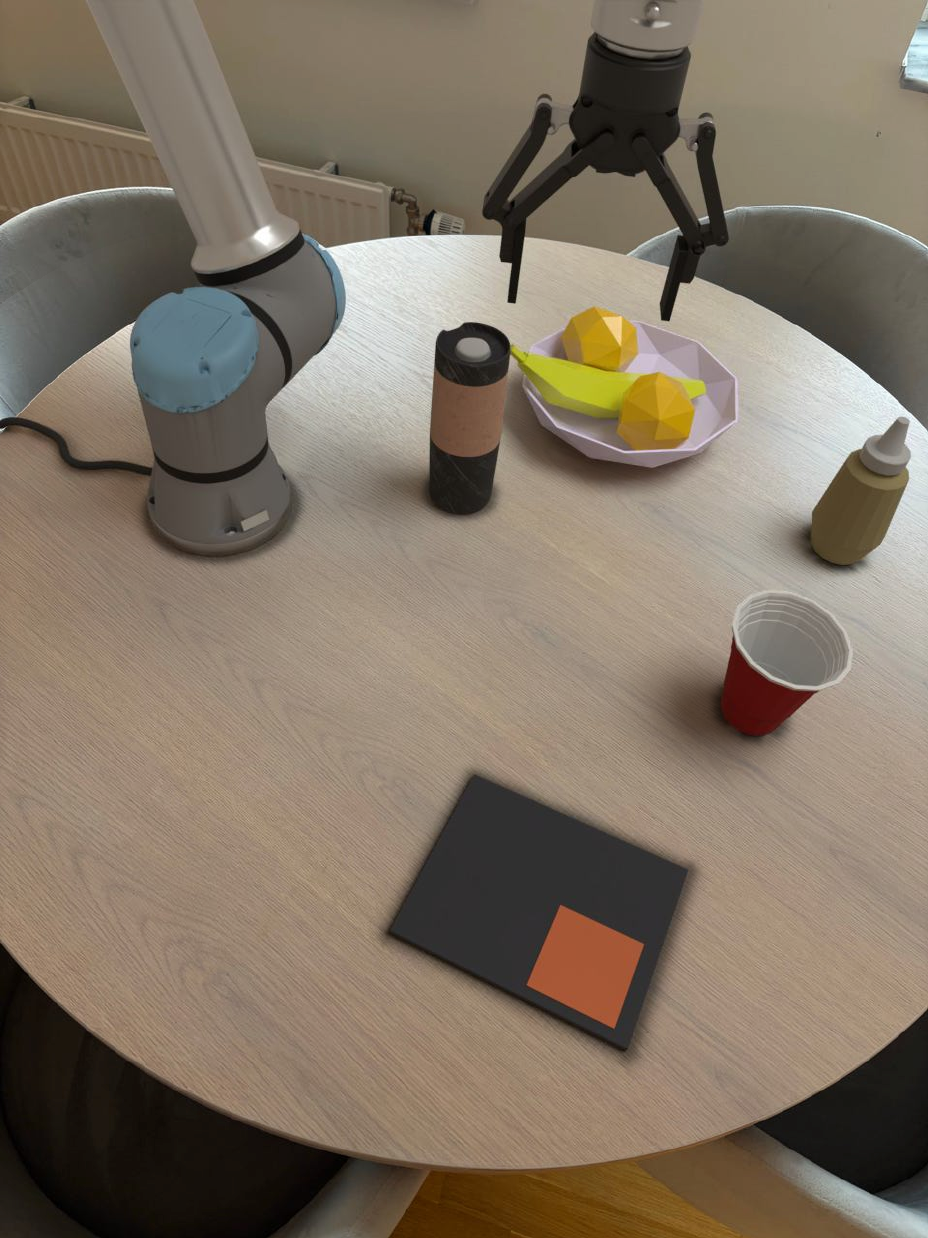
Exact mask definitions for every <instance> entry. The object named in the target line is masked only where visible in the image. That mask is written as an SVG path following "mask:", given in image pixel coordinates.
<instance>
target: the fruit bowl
mask: <svg viewBox="0 0 928 1238" xmlns="http://www.w3.org/2000/svg"><path fill="white" fill-rule="evenodd" d="M510 346H511V352H510V357H512V358H513V359H515V360H516V363H517V365H516V366H517V367H518V368H519V369H520V371H522V373H523V378H522V384H521V387H522V388H523V390H524V393H525V394H526V397H527V399H528V401H529V403H530V404H531V405H530V406H531V407H532V409H533V411H534V414H535V415H536V418H537V419H538V422H539V424H540V425H541V426H542V427H544V428H545V429H547V431H549V432H551V433H553V435H555V436H556V437H558V438H560V439H561V440H562V441H564V442H565V443H567V444H568V445H570V446H572V447H573V448H574V449H576V450H577V451H579V452H580V453H582V454H583V455H585V456H586V457H587V458H589V459H595V460H601V461H608V462H613V463H614V462H615V463H620V464H625V465H626V464H627V465H631V466H638V467H645V468H651V469H653V468H656V467H657V468H658V467H660V466H664V465H666V464H669V463H672V462H676V461H679V460H683V459H686V458H689V457H692V456H696V455H699V454H701V453H702V452H704V450H706V449H707V448H708V447H709V446H711V445H712V444H713V443H714V442H715V441H717V439H719V438H720V437H721V436H722V435H723V434H724V433H726V432H727V431H729V429H730V428H732V427H733V426H734V425H735V424H737V423H738V422H739V385H738V383H739V382H738V379H739V378H737V377H736V376H735V374H733V373H732V372H731V371H730V370H729V369H728V368H727V367H726V366H725V365H724V364H723V363H722V362H721V361H720V360H718V358H716V357H715V356H714V354H712V353H711V352H710V351H709V350H708V348H706V347H705V346H704V345H703V344H702V343H701V342H700V341H698V340H696V339H694V338H693V339H692V338H689V337H687V336H684V335H681V334H678V333H675V332H672V331H669V330H666V329H663V328H660V327H659V326H655V325H652V324H649V323H646V322H643V321H640V320H627V318H625V317H624V316H622V315H620V314H618V313H615V312H613V311H610V310H607V309H605V308H600V307H597V306H592V307H591V306H590V308H587V309H585V310H583V311H582V312H580V313H577V314H576V315H573V316H571V318H570V319H569V322H568V323H567V325H566V326H565V327H563V328H561V329H559V330H557V331H555V332H553V333H551V334H549V335H547V336H546V337H544V338H542V339H540V340H538V341H537V342H535V343H532V344H531V345H530V347H529V351H528V352H527V351H524V352H522V351H521V350H520V349H519V348H518V347H517V346H515V344H513V343H511V344H510Z"/></svg>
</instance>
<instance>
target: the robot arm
mask: <svg viewBox="0 0 928 1238" xmlns="http://www.w3.org/2000/svg"><path fill="white" fill-rule="evenodd" d="M85 2H86V4H87V7H88V9H89V12H90V13H91V15H92V18H93V20H94V22H95V24H96V26H97V29H98V30H99V33H100V35H101V37H102V39H103V42H104V44H105V46H106V48H107V50H108V52H109V55H110V57H111V59H112V61H113V63H114V65H115V67H116V69H117V73H118V74H119V77H120V79H121V81H122V83H123V85H124V88H125V89H126V91H127V94H128V96H129V98H130V100H131V102H132V104H133V107H134V109H135V111H136V113H137V115H138V117H139V120H140V122H141V124H142V126H143V129H144V130H145V132H146V134H147V137H148V139H149V141H150V143H151V146H152V148H153V150H154V152H155V155H156V156H157V158H158V161H159V163H160V165H161V167H162V169H163V172H164V175H165V176H166V178H167V180H168V182H169V185H170V187H171V189H172V191H173V193H174V196H175V198H176V200H177V202H178V204H179V207H180V209H181V211H182V213H183V215H184V217H185V219H186V221H187V224H188V226H189V228H190V230H191V232H192V234H193V237H194V240H195V241H196V247H195V250H194V253H193V256H192V258H191V261H190V267H191V269H192V272H193V274H194V275H195V277H196V279H197V281H198V284H199V286H195V287H194V286H193V287H187V288H183V291H182V293H176V292H174V291H172V292H169V293H167V294H164V295H163V296H161V297H159V298H157V299H156V300H154V301H152V302H151V303H150V304H148V305H147V306H146V307H145V308H144V309H143V310H142V311H141V313H140V314H139V315H138V317H137V318H136V319H135V322H134V324H133V326H132V329H131V332H130V337H129V338H130V339H129V349H130V356H131V364H130V365H131V371H132V378H133V382H134V384H135V386H136V389H137V393H138V398H139V400H140V405H141V410H142V413H143V417H144V421H145V426H146V429H147V433H148V438H149V442H150V445H151V449H152V453H153V462H152V463H153V464H152V467H151V466H146V465H142V464H137V463H134V462H129V461H126V460H125V461H124V460H113V459H112V460H93V461H91V460H90V461H89V460H80V459H78V458H76V457H73V456H72V455H71V454H70V451H69V448H68V444H67V442H66V440H65V438H64V437H63V436H62V435H61V434H60V433H59V432H57V431H55V430H54V429H52V428H50V427H48V426H46V425H44V424H42V423H39V422H38V421H34V420H32V419H28V418H23V417H18V416H9V417H4V418H2V419H0V430H3V429H6V428H8V427H12V426H13V427H14V426H15V427H22V428H25V429H29V430H31V431H34V432H37V433H39V434H42V435H43V436H45V437H47V438H49V439H50V440H52V441H54V442H55V444H56V445H57V448H58V453H59V455H60V458H61V459H62V461H63V462H64V463H65V464H67V465H68V466H70V467H71V468H74V469H78V470H84V471H102V470H120V471H126V472H130V473H135V474H138V475H143V476H146V477H150V480H149V485H148V489H147V496H146V504H147V511H148V514H149V518H150V522H151V524H152V526H153V528H154V530H155V532H156V533H157V534H158V535H159V537H160V538H162V539H163V540H164V541H165V542H166V543H168V544H170V545H171V546H173V547H174V548H176V549H179V550H180V551H184V552H187V553H189V554H195V555H200V556H209V557H215V556H217V557H218V556H221V557H222V556H230V555H236V554H240V553H245V552H247V551H251V550H253V549H256V548H258V547H259V546H261V545H264V544H266V543H267V542H268V541H270V540H271V539H272V538H274V537H275V536H276V535H277V534H278V533H279V532H280V531H281V530H282V529H283V528H284V526H285V525H286V523H287V522H288V520H289V518H290V516H291V512H292V508H293V497H292V489H291V483H290V481H289V478H288V476H287V474H286V472H285V470H284V469H283V468H282V466H281V465H280V464H279V462H278V459H277V457H276V455H275V453H274V451H273V449H272V447H271V445H270V443H269V436H268V435H269V434H268V427H267V417H266V416H267V415H266V410H267V407H268V405H269V403H271V401H272V400H273V399H275V397H276V396H277V395H278V394H279V393H280V392H281V391H282V390H283V389H284V388H285V387H286V386H287V385H288V384H289V383H290V382H291V381H292V379H293V378H294V377H296V376H297V374H298V373H299V372H300V371H301V370H302V369H303V368H304V367H305V366H306V365H307V364H308V363H309V362H310V361H311V360H312V359H313V358H314V357H315V356H318V354H320V353H321V352H322V351H323V350H324V349H325V348H326V347H327V346H328V344H329V343H330V340H331V339H332V338H333V336H334V334H335V333H336V332H337V330H338V329H339V327H340V326H341V324H342V322H343V319H344V316H345V312H346V305H347V295H346V288H345V287H346V286H345V282H344V279H343V276H342V273H341V270H340V268H339V266H338V265H337V263H336V261H335V259H334V258H333V256H332V255H331V253H330V252H329V251H328V250H327V249H322V248H320V246H319V245H320V244H319V242H318V241H317V240H315V239H314V238H312V237H311V236H308V235H306V234H303V232H302V229H301V227H300V224H299V222H298V221H297V220H295V219H294V218H291V217H289V216H287V215H286V214H283V213H281V212H280V211H279V210H278V209H277V207H276V204H275V202H274V199H273V197H272V194H271V192H270V189H269V187H268V185H267V182H266V179H265V177H264V174H263V171H262V170H261V167H260V164H259V162H258V159H257V156H256V154H255V152H254V149H253V146H252V144H251V141H250V139H249V136H248V134H247V132H246V128H245V126H244V124H243V122H242V118H241V117H240V113H239V112H238V111H239V110H238V109H237V107H236V104H235V101H234V99H233V96H232V94H231V91H230V88H229V85H228V83H227V81H226V78H225V76H224V74H223V71H222V68H221V66H220V63H219V61H218V59H217V56H216V53H215V51H214V49H213V46H212V42H211V41H210V38H209V35H208V33H207V31H206V28H205V26H204V23H203V21H202V17H201V16H200V13H199V10H198V7H197V6H196V3H195V1H194V0H85ZM704 2H705V0H593V5H592V11H591V12H592V13H591V16H590V17H591V18H590V27H591V28H592V30H593V33H592V34H591V35H590V36H589V37H588V39H587V44H586V49H585V55H584V62H583V69H582V74H581V81H580V87H579V91H578V96H577V98H576V100H575V102H574V103H573V105H568V104H564V103H561V102H556V101H553V99H552V96H551V95H550V94H548V93H542V94H540V95H539V96H538V97H537V99H536V102H535V107H534V111H533V115H532V120H531V123H530V125H529V126H528V127H527V128H526V131H525V132H524V134H523V135H522V136H521V138H520V140H519V142H518V143H517V144H516V146H515V148H514V149H513V151H512V152H511V154H510V156H509V157H508V159H507V160H506V162H505V163H504V165H503V167H501V170H500V171H499V173H498V174H497V176H496V177H495V179H494V180H493V182H492V183H491V185H490V187H489V188H488V190H487V191H486V193H485V194H484V197H483V204H482V211H481V215H482V217H483V218H484V219H485V220H488V221H492V220H493V221H495V222H497V223H499V225H500V226H501V237H500V246H499V253H498V255H499V256H498V258H499V261H500V263H503V264H504V263H505V264H511V266H510V273H509V274H510V276H509V283H508V292H507V301H506V302H507V304H517V296H518V290H519V282H520V275H521V268H522V261H523V252H524V246H525V245H524V244H525V238H526V226H527V218H528V217H530V216H531V215H532V214H533V213H534V212H535V211H537V210H538V209H539V208H540V207H541V206H542V205H543V204H544V203H545V202H546V201H548V200H549V198H551V197H553V195H554V194H555V193H557V192H558V191H559V190H560V189H561V188H563V186H564V185H565V184H567V183H568V182H569V181H570V180H571V179H572V178H576V177H578V176H579V175H580V174H582V172H584V171H585V170H586V169H587V168H588V167H590V168H592V169H593V170H595V173H598V174H605V175H606V174H612V173H613V174H614V173H617V174H620V175H622V176H624V177H631V178H636V175H639V174H641V173H644V172H646V174H647V175H648V178H649V180H650V181H651V183H652V185H653V186H654V187H655V188H656V190H657V192H658V193H659V195H660V196H661V198H662V200H663V202H664V204H665V205H666V207H667V209H668V211H669V213H670V214H671V217H672V218H673V219H674V221H675V223H676V225H677V227H678V229H679V230H680V232H681V234H682V235H681V234H677V236H676V238H675V239H676V240H675V244H674V247H673V252H672V255H671V259H670V262H669V266H668V269H667V274H666V277H665V278H666V279H665V281H664V285H663V289H662V293H661V296H660V301H659V313H660V314H659V315H660V321H661V322H670V321H671V317H672V315H673V310H674V306H675V303H676V301H677V296H678V293H679V289H680V285H681V284H688V285H691V283H692V282H693V280H694V279H695V275H696V273H697V272H696V271H697V268H698V265H699V262H700V258H701V256H702V255H703V254H704V253H705V252H706V249H707V248H708V247H711V246H714V245H715V246H716V247H724V246H725V245H727V244H728V243H729V240H730V237H729V232H728V225H727V221H726V220H727V219H726V216H725V211H724V206H723V202H722V197H721V192H720V186H719V182H718V176H717V172H716V167H715V162H714V157H713V156H714V149H715V143H716V138H717V137H716V136H717V129H716V124H715V119H714V116H713V114H711V113H710V112H702V113H701V114H699V116H698V117H697V118H680V117H679V109H680V105H681V100H682V97H683V92H684V89H685V88H684V86H685V84H686V80H687V75H688V70H689V67H690V63H691V58H692V53H691V50H690V47H689V46H690V45H691V44H693V43H694V41H695V40H696V36H697V32H698V28H699V24H700V19H701V14H702V11H703V6H704ZM564 125H568V127H569V130H570V131H571V133H572V136H573V138H574V139H572V140H571V142H569V143H568V144H567V146H566V147H565V148H564V150H563V151H562V152H561V153H560V154H559V155H558V156H557V157H556V158H555V159H554V160H553V161H551V163H549V164H548V165H547V166H546V167H545V168H544V169H543V170H541V172H540V173H539V174H537V176H535V177H534V178H533V179H532V180H531V181H530V182H529V183H528V184H526V185H525V186H524V187H523V188H522V189H521V190H520V191H519V192H518V193H517V194H516V195H515V196H513V197H512V198H511V199H510V200H509V197H510V196H511V194H512V193H513V192H514V190H515V189H516V187H517V185H518V184H519V183H520V181H521V180H522V177H523V176H524V175H525V173H526V172H527V170H528V169H529V168H530V166H531V164H532V163H533V161H534V160H535V158H536V156H537V155H538V153H539V152H540V150H541V149H542V148H543V145H544V143H545V141H546V139H547V137H548V136H552V135H555V134H557V132H558V131H559V129H560V128H561V126H564ZM547 135H548V136H547ZM679 138H682V139H683V140H684V142H685V145H686V149H687V150H688V151H690V152H694V153H695V158H696V159H695V160H696V164H697V165H696V166H697V170H698V175H699V180H700V185H701V189H702V194H703V198H704V204H705V208H706V212H707V218H708V221H709V223H705V224H702V223H701V221H700V220H699V218H698V216H697V214H696V212H695V211H694V209H693V207H692V205H691V203H690V202H689V199H688V198H687V196H686V194H685V192H684V190H683V189H682V187H681V185H680V183H679V181H678V180H677V178H676V175H675V174H674V172H673V170H672V168H671V166H670V165H669V162H668V159H667V157H666V155H665V152H666V151H667V150H668V149H669V148H671V146H672V145H674V144H675V143H676V142H677V140H678V139H679Z"/></svg>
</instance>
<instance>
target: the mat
mask: <svg viewBox="0 0 928 1238" xmlns="http://www.w3.org/2000/svg"><path fill="white" fill-rule="evenodd" d="M461 795H462V796H461V797H460V799H459V800H458V803H457V805H456V806H455V809H454V810H453V812H452V814H451V815H450V817H449V820H448V821H447V824H446V825H445V827H444V829H443V831H442V833H441V834H440V836H439V838H438V839H437V842H436V844H435V845H434V847H433V849H432V851H431V852H430V854H429V856H428V858H427V860H426V862H425V864H424V865H423V867H422V870H421V871H420V873H419V875H418V877H417V879H416V881H415V882H414V885H413V886H412V887H411V890H410V892H409V893H408V895H407V898H406V899H405V901H404V903H403V904H402V906H401V908H400V910H399V912H398V914H397V916H396V917H395V919H394V921H393V923H392V925H391V927H390V929H389V934H390V935H393V936H395V937H396V938H398V939H400V940H402V941H404V942H407V943H408V944H411V945H412V946H414V947H416V948H419V949H421V950H423V951H425V952H426V953H428V954H431V955H432V956H435V958H439V959H440V960H442V961H445V962H446V963H449V964H450V965H452V966H455V967H456V968H459V969H460V970H463V971H465V972H466V973H469V974H470V975H473V976H475V977H476V978H479V979H480V980H482V981H485V982H486V983H489V984H491V985H492V986H495V987H496V988H498V989H500V990H503V991H505V992H507V993H508V994H510V995H513V996H514V997H517V998H519V999H521V1000H522V1001H525V1002H526V1003H528V1004H531V1005H532V1006H534V1007H537V1008H538V1009H541V1010H542V1011H545V1012H547V1013H549V1014H551V1015H552V1016H555V1017H556V1018H559V1019H560V1020H563V1021H564V1022H566V1023H568V1024H571V1025H572V1026H574V1027H577V1028H579V1029H581V1030H583V1031H585V1032H586V1033H588V1034H591V1035H593V1036H595V1037H597V1038H598V1039H600V1040H602V1041H605V1042H606V1043H608V1044H611V1045H613V1046H614V1047H617V1048H619V1049H621V1050H623V1051H624V1052H627V1051H628V1050H629V1047H630V1043H631V1041H632V1038H633V1035H634V1032H635V1029H636V1026H637V1022H638V1021H639V1017H640V1015H641V1011H642V1008H643V1005H644V1002H645V1000H646V996H647V993H648V990H649V988H650V984H651V982H652V979H653V976H654V973H655V970H656V967H657V964H658V961H659V958H660V955H661V952H662V950H663V946H664V944H665V940H666V938H667V935H668V932H669V928H670V926H671V922H672V919H673V916H674V913H675V911H676V907H677V905H678V902H679V899H680V896H681V893H682V890H683V887H684V884H685V881H686V878H687V876H688V872H689V869H688V868H687V867H686V868H685V867H684V866H681V865H679V864H677V863H674V862H673V861H670V860H668V859H665V858H663V857H662V856H658V855H657V854H655V853H652V852H650V851H647V850H645V849H643V848H641V847H639V846H637V845H634V844H632V843H630V842H627V841H625V840H623V839H621V838H618V837H616V836H614V835H611V834H610V833H607V832H605V831H603V830H601V829H599V828H597V827H595V826H592V825H589V824H587V823H585V822H584V821H580V820H578V819H576V818H574V817H572V816H570V815H567V814H565V813H563V812H560V811H558V810H557V809H553V808H551V807H549V806H547V805H545V804H543V803H540V802H538V801H536V800H534V799H531V798H529V797H527V796H524V795H522V794H520V793H518V792H516V791H514V790H511V789H509V788H508V787H507V788H506V787H505V786H502V785H500V784H498V783H496V782H493V781H491V780H489V779H486V778H485V777H481V776H480V775H478V774H475V773H474V774H472V777H471V779H470V781H469V782H468V784H467V787H466V788H465V790H464V792H463V793H462V794H461Z"/></svg>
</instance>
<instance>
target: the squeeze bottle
mask: <svg viewBox="0 0 928 1238" xmlns="http://www.w3.org/2000/svg"><path fill="white" fill-rule="evenodd" d="M910 424H911V423H910V419H909V418H908V417H905V416H898V417H897V418H896V419H895V421H894V422H893V423H892V424H890V426H889V427H888V428H887V429H886V431H885V432H884V433H883V434H874V435H871V436H869V437H867V439H866V441H864V443H863V445H862V447H861V448H858V449H856V450H854V451H852V452H850V453H849V455H848V456H847V457H846V459H845V460H844V462H843V463H842V465H841V466H840V468H839V469H838V471H837V473H836V474H835V475H834V477H833V479H832V480H831V482H830V483H829V485H828V486H827V488H826V489H825V491H824V493H823V494H822V496H821V497H820V498H819V500H818V502H817V503H816V505H815V506H814V508H813V509H812V511H811V524H810V525H811V526H810V545H811V547H812V549H813V551H814V552H815V553H816V554H817V555H818V556H819V557H820V558H822V559H824V560H826V561H828V562H829V563H831V564H836V565H840V566H845V565H846V566H847V565H848V566H849V565H853V564H855V563H857V562H859V561H861V560H862V559H864V558H865V557H866V556H867V555H869V554H870V553H871V552H872V551H874V550H875V549H876V548H878V547H880V545H881V544H882V543H883V541H884V539H885V538H886V535H887V533H888V532H889V531H888V530H889V528H890V526H891V524H892V521H893V519H894V516H895V514H896V511H897V509H898V507H899V505H900V502H901V499H902V497H903V495H904V493H905V491H906V488H907V485H908V483H909V481H910V473H909V470H908V468H907V465H908V463H909V462H910V460H911V458H912V453H911V450H910V448H909V447H908V445H907V444H906V443H905V442H906V438H907V435H908V430H909V426H910Z"/></svg>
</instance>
